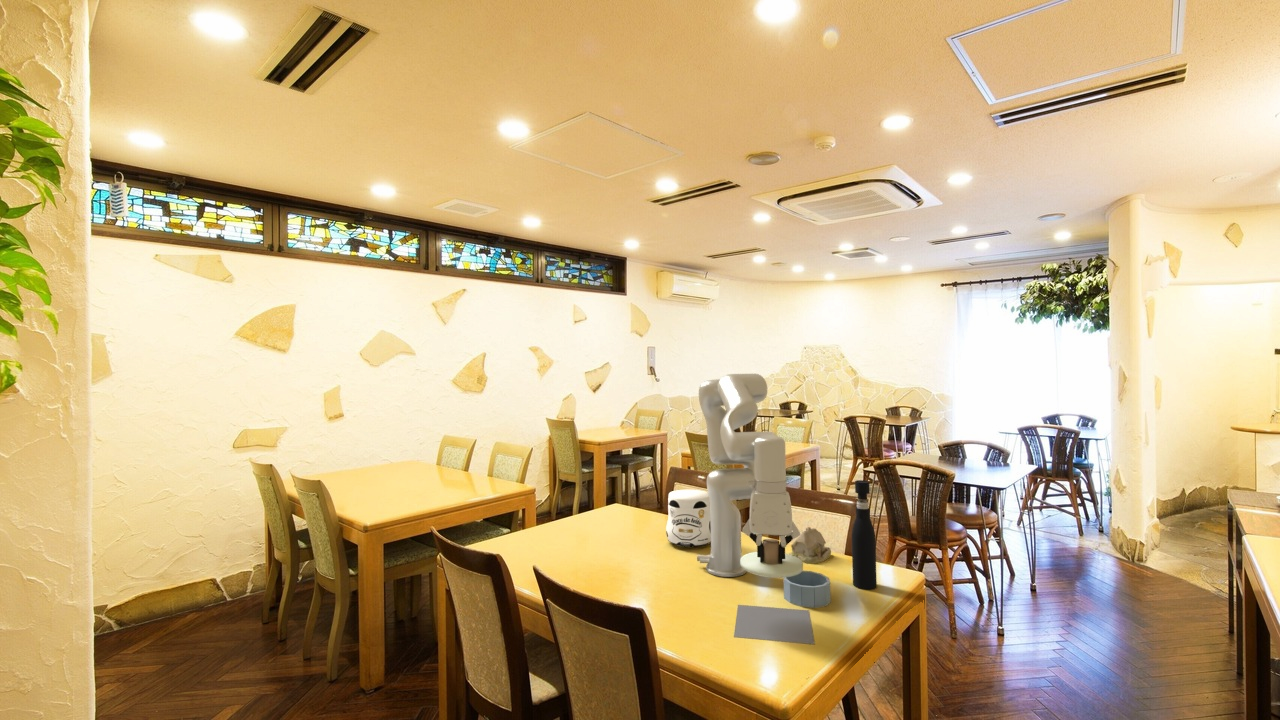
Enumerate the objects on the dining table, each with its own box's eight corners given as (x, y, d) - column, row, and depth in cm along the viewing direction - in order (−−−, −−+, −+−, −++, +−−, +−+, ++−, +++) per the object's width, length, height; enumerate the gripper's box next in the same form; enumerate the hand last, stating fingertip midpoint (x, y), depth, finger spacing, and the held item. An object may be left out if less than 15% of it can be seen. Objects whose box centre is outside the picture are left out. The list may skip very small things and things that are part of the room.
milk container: (678, 553, 189) (677, 501, 189) (658, 539, 205) (658, 491, 206) (722, 547, 195) (721, 496, 196) (700, 534, 211) (699, 487, 212)
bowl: (784, 608, 144) (784, 585, 144) (783, 590, 156) (782, 569, 156) (832, 612, 142) (832, 588, 142) (827, 593, 153) (827, 572, 153)
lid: (738, 575, 129) (738, 549, 129) (741, 553, 144) (741, 530, 144) (805, 579, 126) (804, 553, 126) (801, 557, 141) (800, 533, 141)
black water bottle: (848, 581, 161) (846, 479, 162) (869, 580, 162) (867, 479, 163) (859, 590, 155) (856, 484, 156) (881, 589, 156) (878, 483, 156)
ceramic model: (809, 566, 175) (808, 535, 175) (782, 557, 184) (781, 527, 184) (837, 557, 183) (836, 527, 183) (809, 549, 192) (808, 520, 192)
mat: (733, 640, 128) (733, 636, 128) (737, 607, 145) (737, 604, 145) (814, 647, 123) (814, 644, 123) (808, 613, 141) (808, 610, 141)
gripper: (734, 488, 133) (736, 564, 133) (806, 491, 130) (807, 569, 129) (736, 482, 141) (737, 553, 141) (804, 484, 137) (805, 558, 137)
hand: (771, 560), depth 135 cm, fingers closed on lid, 4 cm apart
